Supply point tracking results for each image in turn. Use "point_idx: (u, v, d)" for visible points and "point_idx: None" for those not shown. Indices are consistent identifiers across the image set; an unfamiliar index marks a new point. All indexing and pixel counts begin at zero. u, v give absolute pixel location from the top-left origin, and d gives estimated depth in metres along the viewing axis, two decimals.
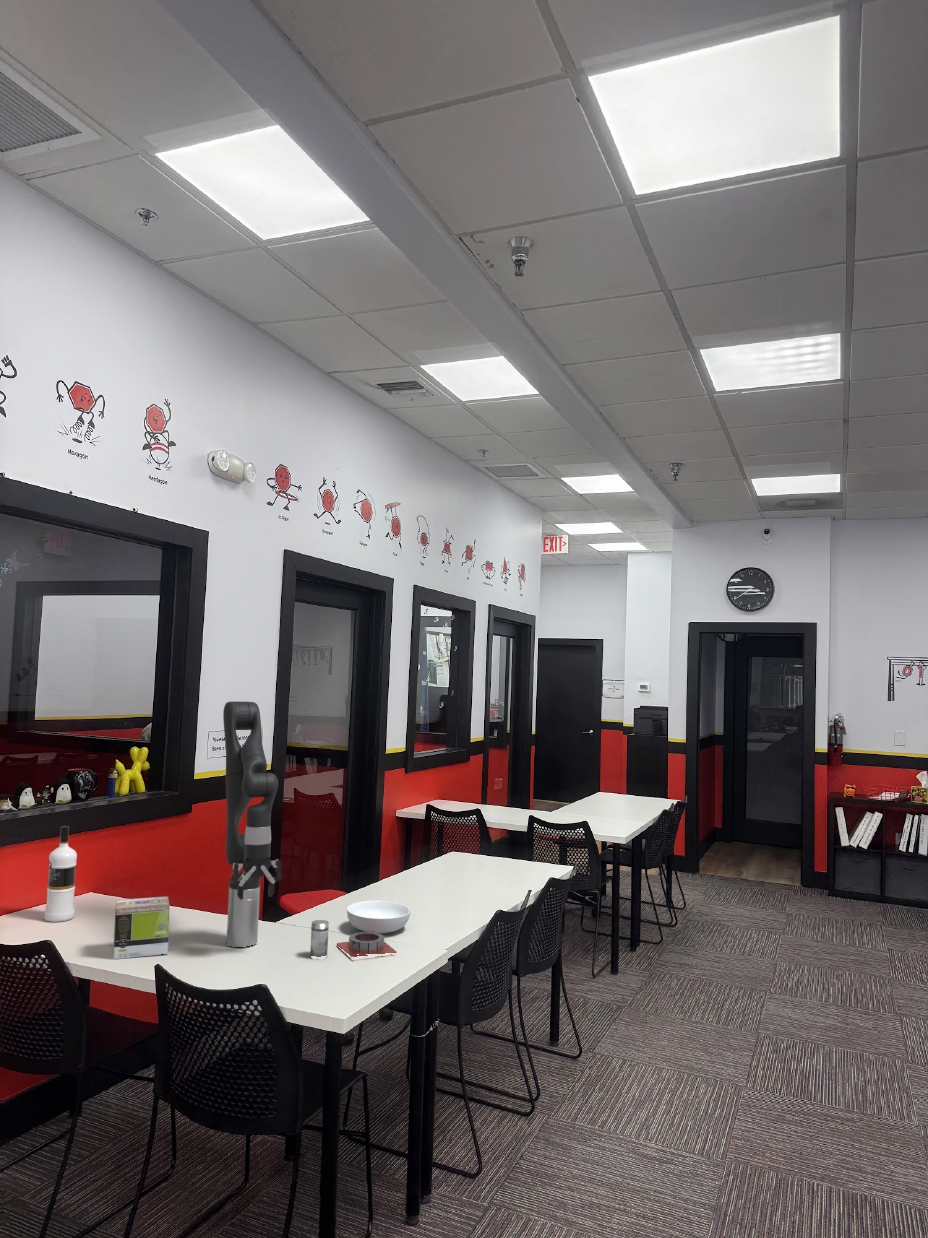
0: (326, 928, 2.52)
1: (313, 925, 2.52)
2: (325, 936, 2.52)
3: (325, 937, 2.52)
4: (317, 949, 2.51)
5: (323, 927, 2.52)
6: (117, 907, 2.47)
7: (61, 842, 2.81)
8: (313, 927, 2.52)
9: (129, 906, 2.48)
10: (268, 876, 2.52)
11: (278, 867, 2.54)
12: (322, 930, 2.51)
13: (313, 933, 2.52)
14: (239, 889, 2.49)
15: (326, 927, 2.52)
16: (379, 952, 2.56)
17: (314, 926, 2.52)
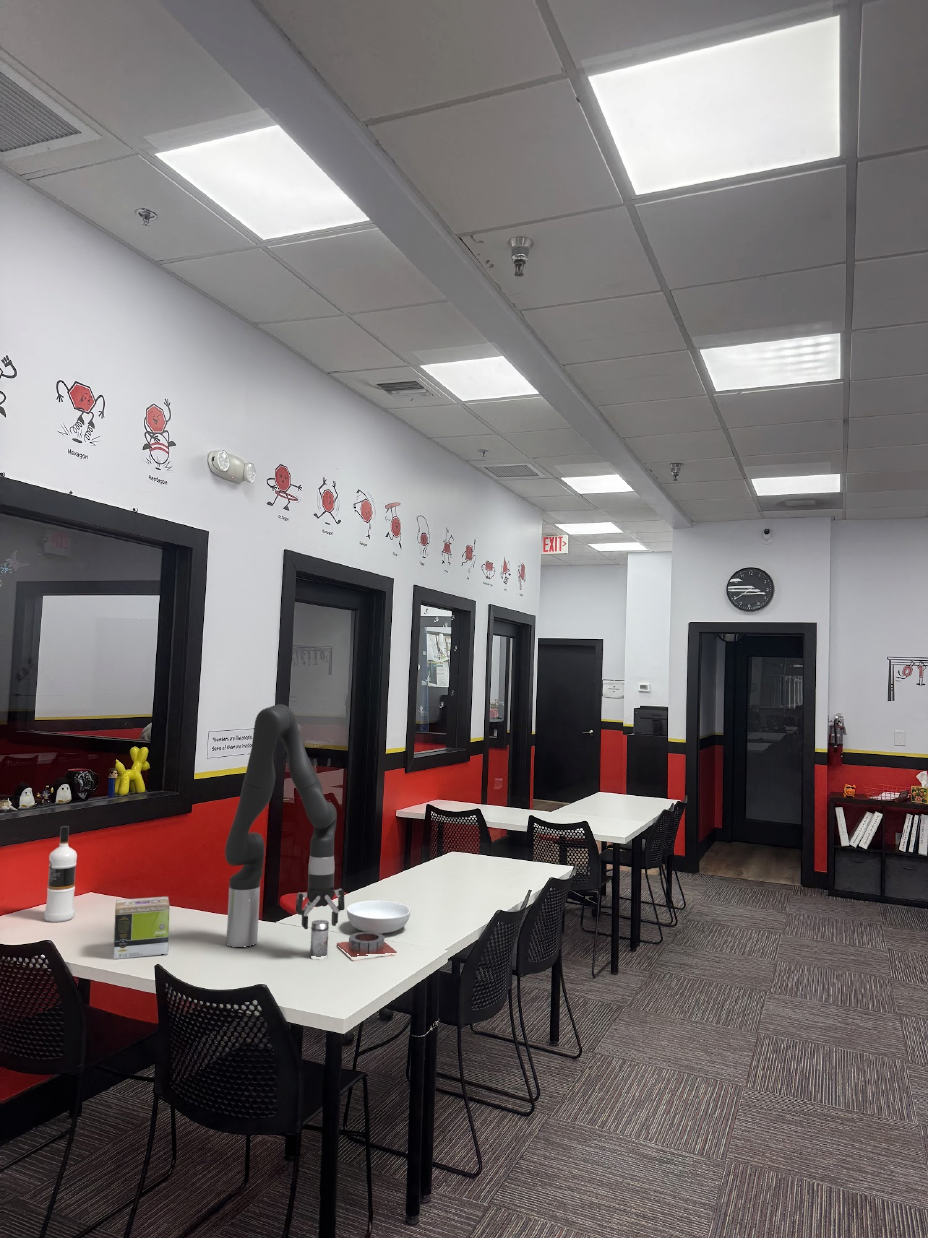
0: (326, 928, 2.52)
1: (313, 925, 2.52)
2: (325, 936, 2.52)
3: (325, 937, 2.52)
4: (317, 949, 2.51)
5: (323, 927, 2.52)
6: (117, 907, 2.47)
7: (61, 842, 2.81)
8: (313, 927, 2.52)
9: (129, 906, 2.48)
10: (332, 906, 2.53)
11: (341, 896, 2.55)
12: (322, 930, 2.51)
13: (313, 933, 2.52)
14: (304, 919, 2.50)
15: (326, 927, 2.52)
16: (379, 952, 2.56)
17: (314, 926, 2.52)
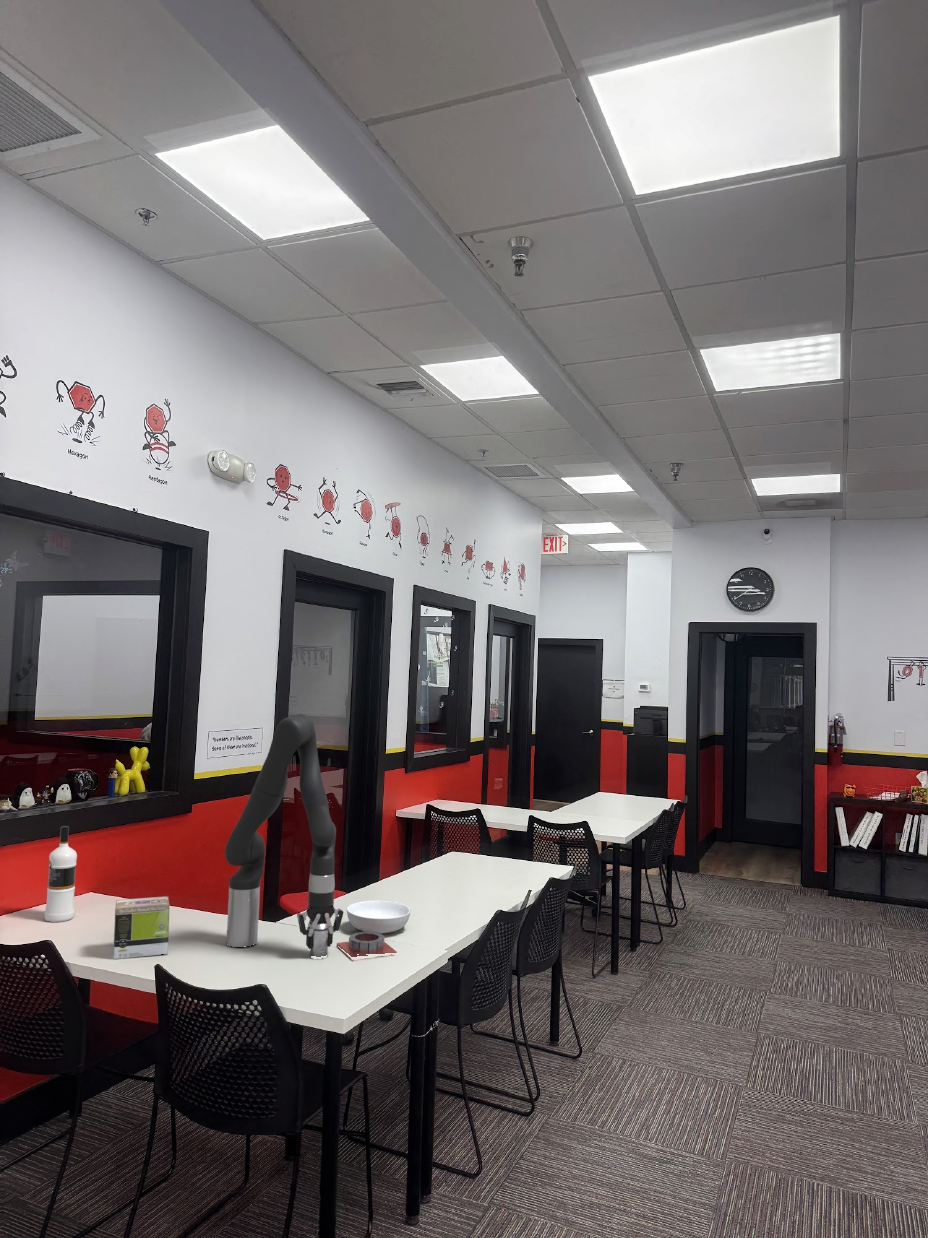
0: (326, 928, 2.52)
1: None
2: (325, 936, 2.52)
3: (325, 937, 2.52)
4: (317, 949, 2.51)
5: (323, 927, 2.52)
6: (117, 907, 2.47)
7: (61, 842, 2.81)
8: None
9: (129, 906, 2.48)
10: (329, 925, 2.53)
11: (340, 917, 2.55)
12: (322, 930, 2.51)
13: (313, 933, 2.52)
14: (308, 939, 2.51)
15: (326, 927, 2.52)
16: (379, 952, 2.56)
17: None
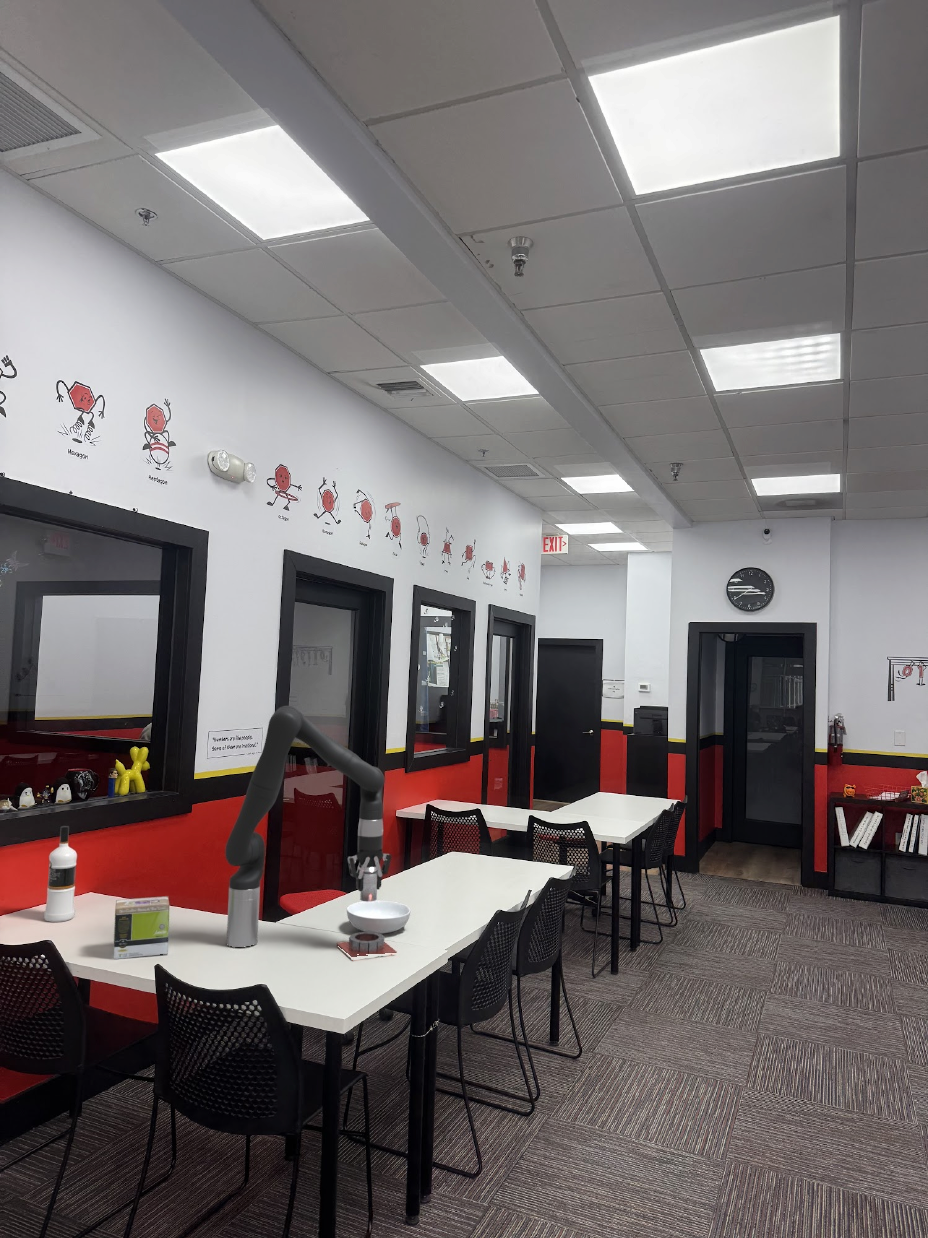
0: (375, 871, 2.60)
1: None
2: (375, 879, 2.59)
3: (375, 880, 2.59)
4: (367, 891, 2.58)
5: (373, 870, 2.59)
6: (117, 907, 2.47)
7: (61, 842, 2.81)
8: None
9: (129, 905, 2.48)
10: (378, 868, 2.61)
11: (388, 861, 2.63)
12: (372, 873, 2.59)
13: (363, 875, 2.59)
14: (358, 881, 2.59)
15: (375, 870, 2.60)
16: (379, 952, 2.56)
17: None
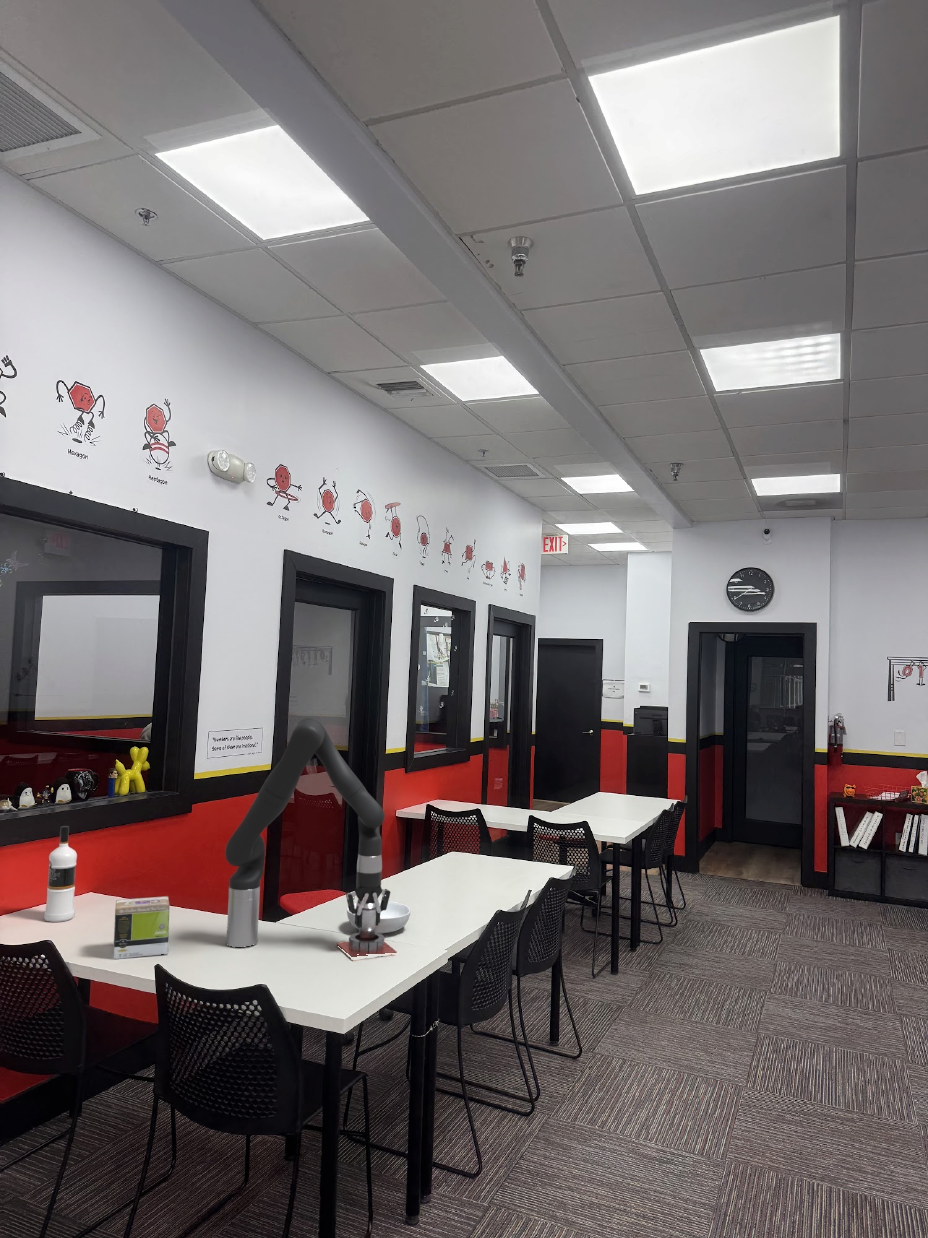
0: (374, 907, 2.59)
1: None
2: (373, 915, 2.59)
3: (374, 917, 2.59)
4: (365, 927, 2.58)
5: (371, 906, 2.58)
6: (117, 907, 2.47)
7: (61, 842, 2.81)
8: None
9: (129, 906, 2.48)
10: (376, 904, 2.60)
11: (387, 897, 2.62)
12: (371, 909, 2.58)
13: (362, 912, 2.58)
14: (357, 918, 2.58)
15: (374, 906, 2.59)
16: (379, 952, 2.56)
17: None
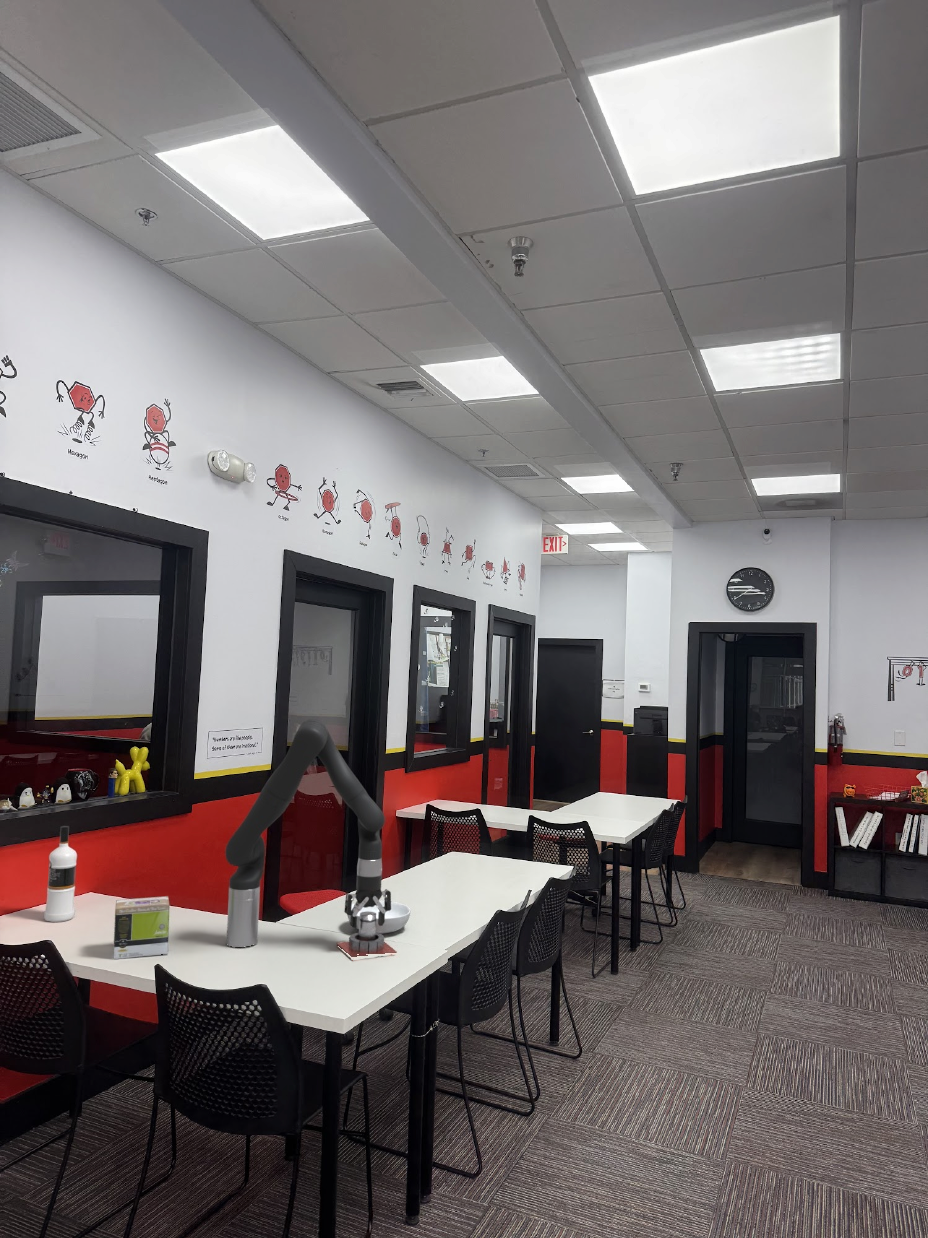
0: (374, 919, 2.59)
1: (361, 916, 2.59)
2: (373, 927, 2.59)
3: (373, 928, 2.59)
4: (365, 939, 2.58)
5: (371, 918, 2.58)
6: (117, 907, 2.47)
7: (61, 842, 2.81)
8: (361, 918, 2.59)
9: (129, 906, 2.48)
10: (379, 906, 2.61)
11: (388, 897, 2.63)
12: (370, 921, 2.58)
13: (362, 924, 2.58)
14: (352, 919, 2.58)
15: (374, 918, 2.59)
16: (379, 952, 2.56)
17: (362, 917, 2.58)
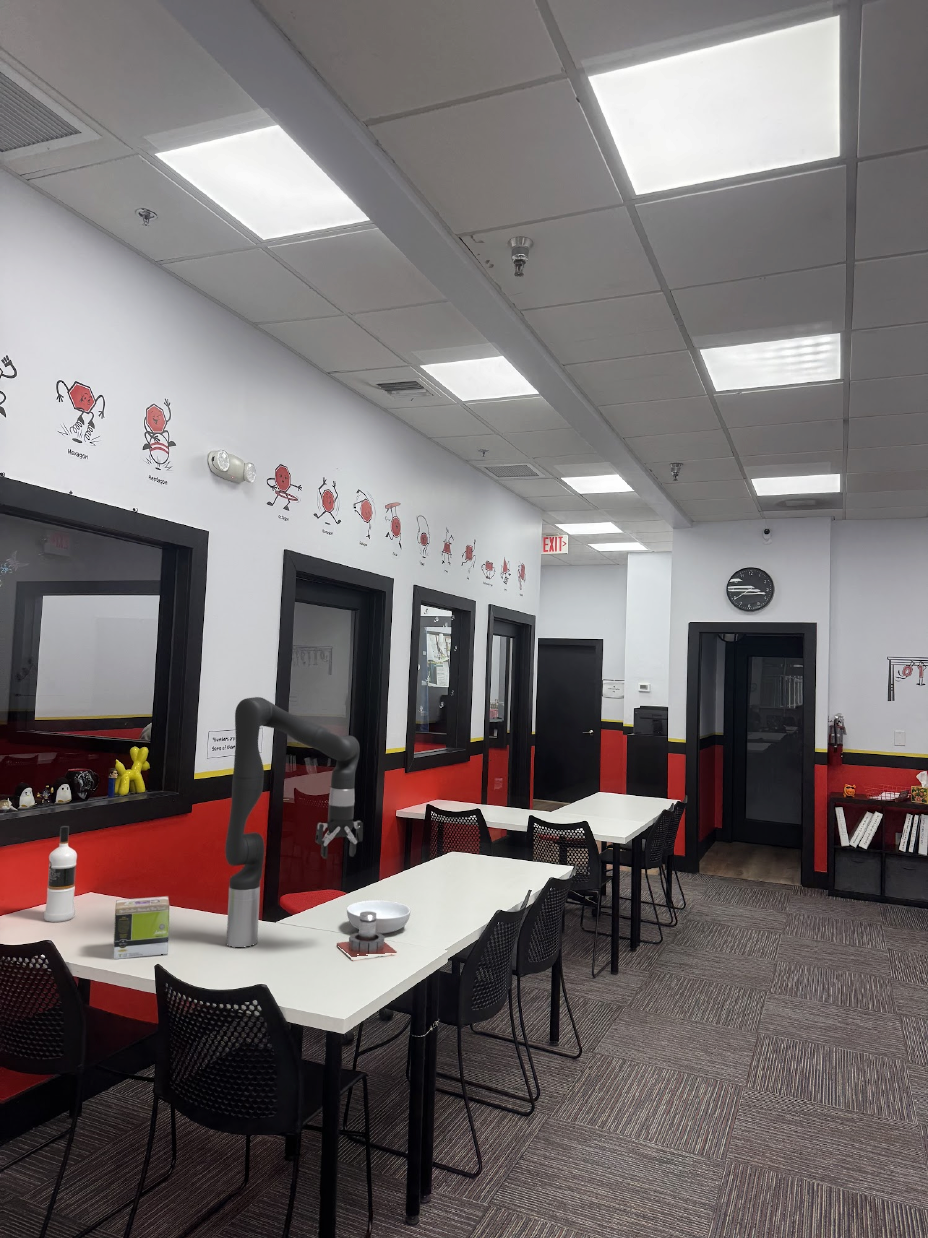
0: (374, 919, 2.59)
1: (362, 916, 2.59)
2: (373, 927, 2.59)
3: (374, 928, 2.59)
4: (365, 939, 2.58)
5: (371, 918, 2.58)
6: (117, 907, 2.47)
7: (61, 842, 2.81)
8: (362, 918, 2.58)
9: (129, 906, 2.48)
10: (351, 837, 2.58)
11: (360, 828, 2.60)
12: (370, 921, 2.58)
13: (362, 924, 2.58)
14: (323, 848, 2.54)
15: (374, 918, 2.59)
16: (379, 952, 2.56)
17: (363, 917, 2.58)
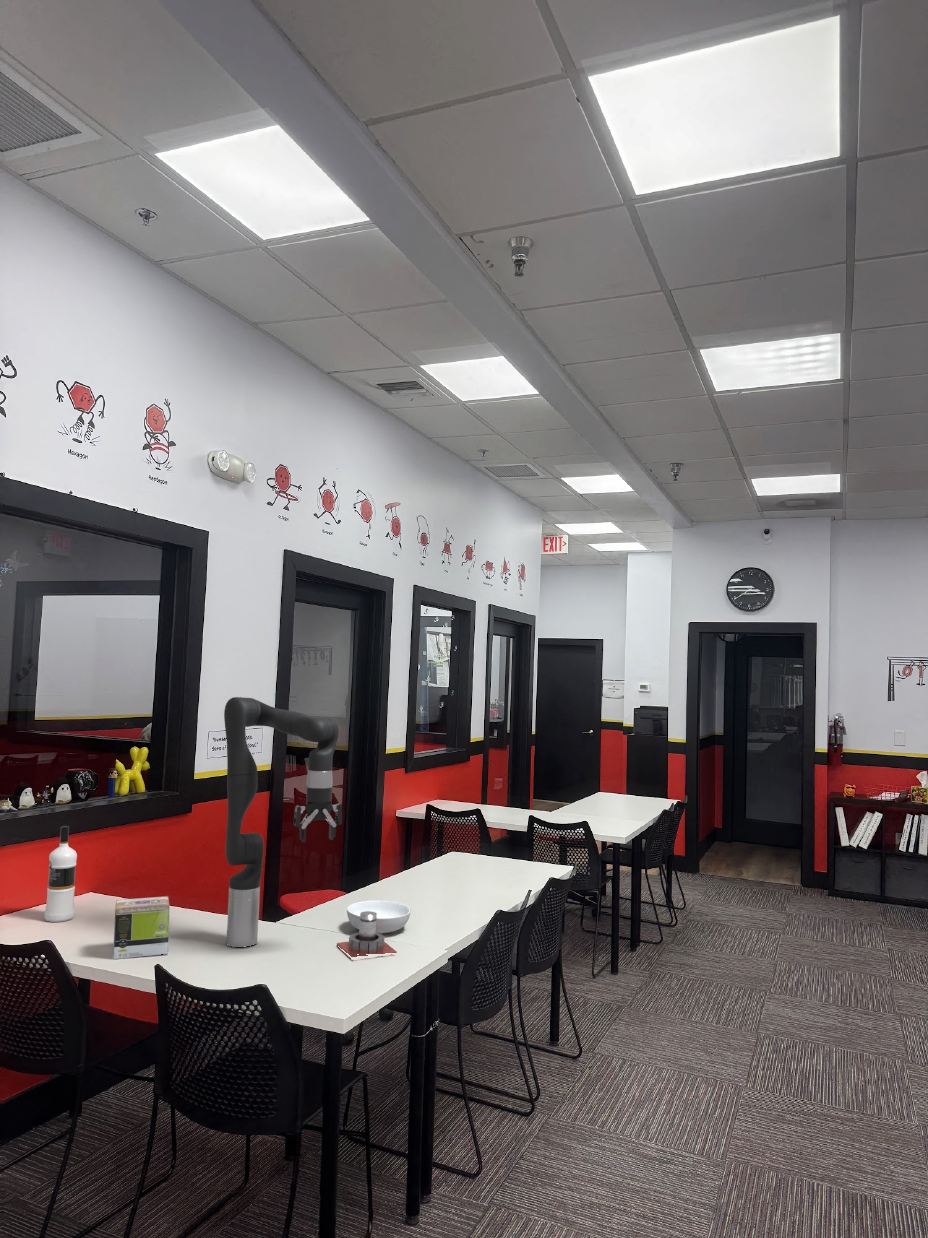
0: (375, 919, 2.59)
1: (362, 916, 2.59)
2: (373, 927, 2.59)
3: (374, 928, 2.59)
4: (365, 939, 2.58)
5: (372, 918, 2.59)
6: (117, 907, 2.47)
7: (61, 842, 2.81)
8: (362, 918, 2.59)
9: (129, 906, 2.48)
10: (330, 819, 2.54)
11: (339, 811, 2.56)
12: (371, 921, 2.58)
13: (362, 923, 2.58)
14: (301, 831, 2.51)
15: (375, 918, 2.59)
16: (379, 952, 2.56)
17: (363, 917, 2.58)
